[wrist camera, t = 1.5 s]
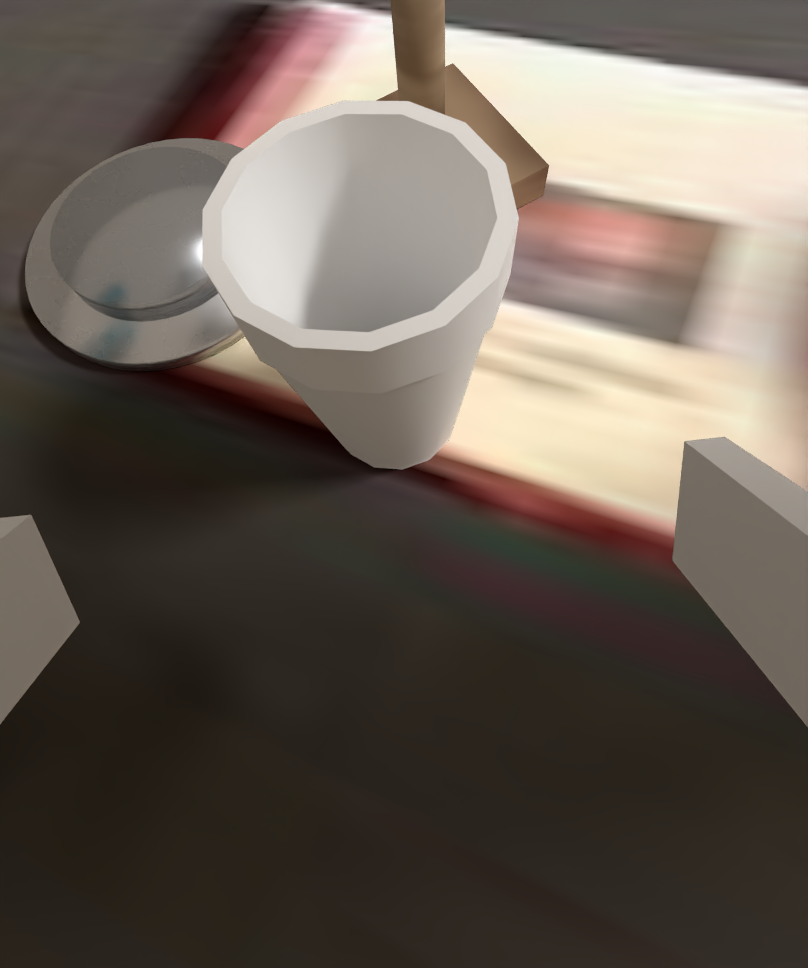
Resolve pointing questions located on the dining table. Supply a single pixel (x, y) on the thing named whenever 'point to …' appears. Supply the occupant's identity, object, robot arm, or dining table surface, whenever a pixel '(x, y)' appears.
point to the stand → (456, 93)
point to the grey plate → (133, 260)
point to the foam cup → (366, 266)
